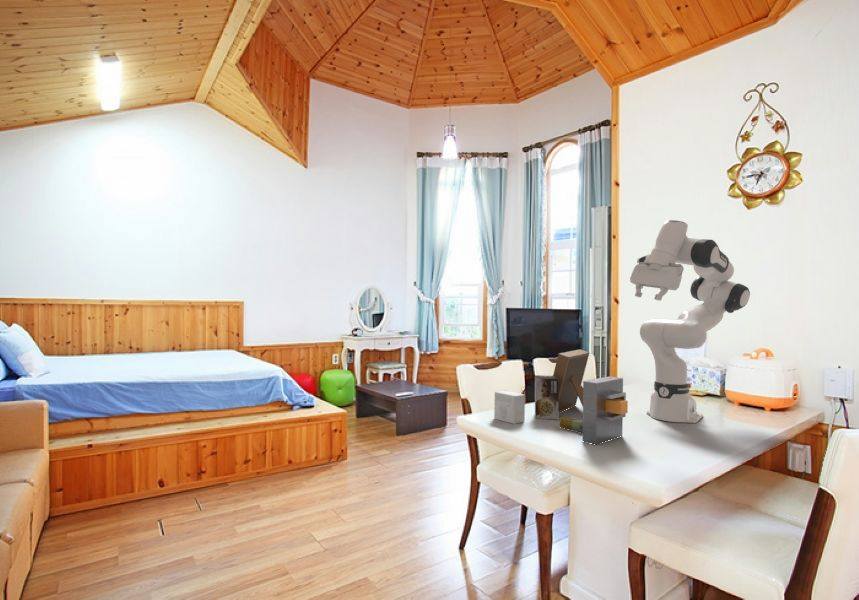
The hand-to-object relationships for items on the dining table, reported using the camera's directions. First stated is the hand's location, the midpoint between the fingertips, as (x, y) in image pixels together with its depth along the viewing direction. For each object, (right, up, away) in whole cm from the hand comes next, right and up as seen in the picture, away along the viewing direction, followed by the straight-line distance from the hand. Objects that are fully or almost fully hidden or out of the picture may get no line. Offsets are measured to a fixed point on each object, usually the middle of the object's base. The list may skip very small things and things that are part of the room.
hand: (647, 298), depth 175 cm
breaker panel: (-20, -47, -13) cm, 53 cm away
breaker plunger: (-19, -37, -15) cm, 44 cm away
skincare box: (-48, -47, +12) cm, 68 cm away
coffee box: (-32, -47, +17) cm, 60 cm away
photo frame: (-19, -47, +26) cm, 57 cm away
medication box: (-27, -48, -2) cm, 55 cm away
